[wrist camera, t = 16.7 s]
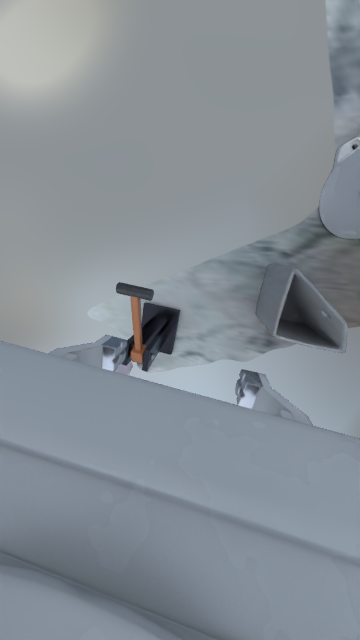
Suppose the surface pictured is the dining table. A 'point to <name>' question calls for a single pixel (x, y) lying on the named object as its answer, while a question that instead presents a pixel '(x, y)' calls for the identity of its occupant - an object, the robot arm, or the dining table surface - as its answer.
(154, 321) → the bracket
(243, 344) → the dining table surface
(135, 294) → the lever
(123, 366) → the smoothie
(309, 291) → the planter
